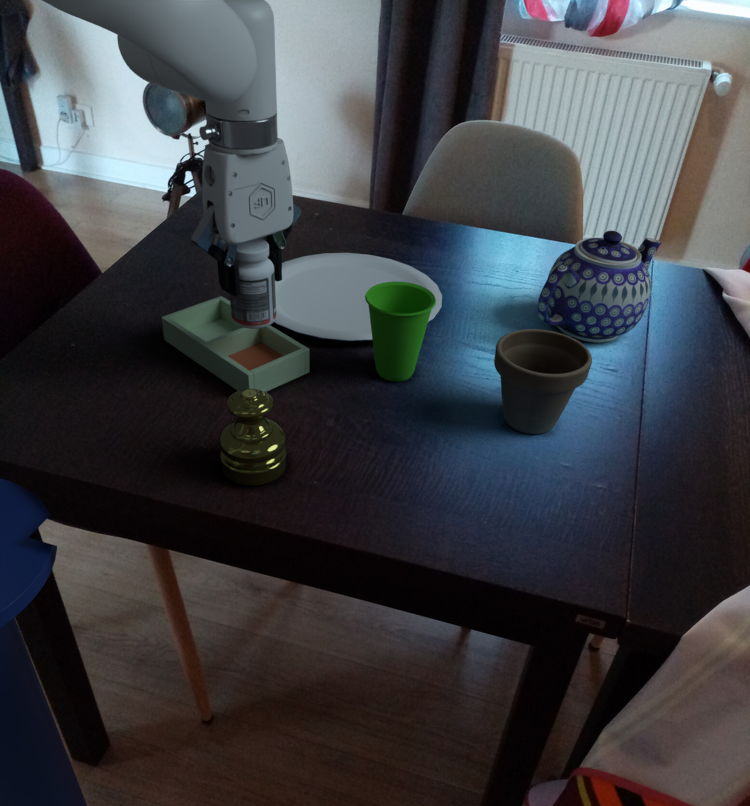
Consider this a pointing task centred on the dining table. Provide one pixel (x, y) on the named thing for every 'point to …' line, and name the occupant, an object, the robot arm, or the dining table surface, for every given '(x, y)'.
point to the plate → (338, 293)
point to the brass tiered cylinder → (252, 440)
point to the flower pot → (539, 376)
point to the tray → (235, 347)
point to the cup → (398, 326)
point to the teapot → (598, 288)
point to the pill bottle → (254, 286)
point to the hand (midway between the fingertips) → (251, 283)
